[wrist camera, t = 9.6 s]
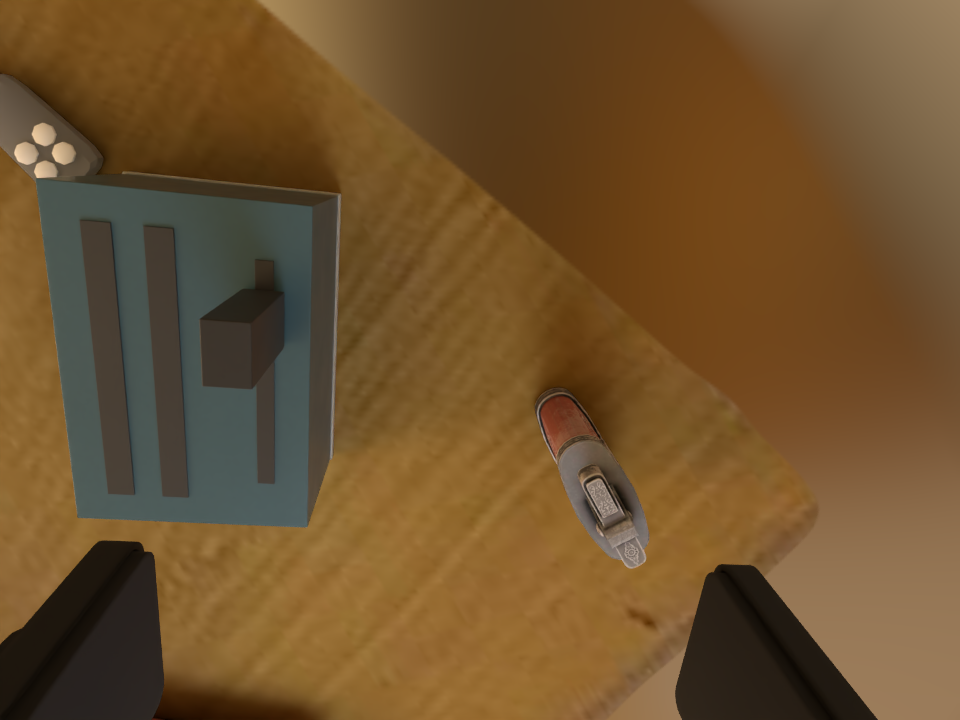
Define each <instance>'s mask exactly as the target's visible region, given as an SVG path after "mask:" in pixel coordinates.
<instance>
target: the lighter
mask: <svg viewBox="0 0 960 720" xmlns="http://www.w3.org/2000/svg"><path fill="white" fill-rule="evenodd" d="M535 413H536V416H537V419H538V423H539V426H540V429H541V432H542V435H543V437H544V439H545V442H546V444H547V446H548V448H549V450H550V452H551V455H552V457H553V459H554V460H555V462H556V463H557V465H558V469H559V472H560V475H561V479H562V482H563V485H564V488H565V490H566V493H567V495H568V497H569V499H570V502H571V504H572V506H573V508H574V510H575V512H576V515H577V517H578V518H579V520H580V521H581V523H582V524H583V526H584V527H585V529H586V530H587V531H588V533H589V534H590V536H591V537H592V538H593V540H594V541H595V542H596V543H597V544H598V545H599V546H600V547H601V548H602V549H603V551H604V552H605V553H606V554H607V555H608V556H610V557H611V558H614V559H619V560H621V559H622V560H623V562H624V564H625V565H626V567H628V568H635V567H637V566H639V565H641V564H643V563H644V562H645V561H646V555H645V552H644V551H643V550H644V548H645V547H646V546H647V544H648V541H649V531H648V527H647V523H646V519H645V515H644V511H643V509H642V506H641V504H640V502H639V499H638V497H637V494H636V492H635V489H634V487H633V486H632V484H631V483H630V481H629V479H628V478H627V476H626V475H625V473H624V471H623V470H622V468H621V467H620V465H619V463H618V462H617V460H616V459H615V457H614V456H613V454H612V452H611V451H610V449H609V448H608V446H607V444H606V443H605V441H604V440H603V439H602V437H601V435H600V433H599V431H598V430H597V428H596V426H595V425H594V423H593V422H592V420H591V418H590V417H589V415H588V414H587V412H586V410H585V409H584V408H583V407H582V405H581V404H580V403H579V402H578V401H577V399H576V398H575V397H574V396H573V395H572V393H571V392H569V391H568V390H567V389H563V388H553V389H550V390H547V391H546V392H544V393H543V394H541V395H540V397H539V398H538V399H537V401H536V404H535Z"/></svg>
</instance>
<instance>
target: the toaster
mask: <svg viewBox="0 0 960 720" xmlns="http://www.w3.org/2000/svg"><path fill="white" fill-rule="evenodd" d="M35 180H36V188H37V196H38V204H39V212H40V220H41V228H42V236H43V244H44V252H45V260H46V268H47V276H48V284H49V292H50V300H51V308H52V316H53V324H54V332H55V340H56V348H57V356H58V364H59V372H60V380H61V388H62V396H63V404H64V412H65V420H66V428H67V436H68V444H69V452H70V460H71V468H72V476H73V484H74V493H75V501H76V509H77V517H78V518H95V519H118V520H142V521H166V522H190V523H213V524H237V525H261V526H284V527H308V524H309V521H310V517H311V514H312V511H313V508H314V505H315V502H316V499H317V496H318V493H319V490H320V487H321V484H322V481H323V478H324V475H325V472H326V469H327V466H328V463H329V460H330V459H332V457H333V446H334V414H335V382H336V350H337V318H338V286H339V254H340V222H341V193H333V192H323V191H314V190H304V189H294V188H285V187H275V186H265V185H256V184H246V183H237V182H227V181H217V180H208V179H198V178H188V177H179V176H169V175H159V174H150V173H140V172H131V171H123V172H122V174H107V175H87V176H67V177H47V178H36V179H35ZM241 289H255V290H267V291H279V292H284V293H285V295H284V349H283V350H282V351H281V352H280V354H279V355H278V356H277V358H276V359H275V360H274V362H273V363H272V364H271V366H270V367H269V368H268V369H267V371H266V372H265V373H264V375H263V376H262V377H261V379H260V380H259V381H258V382H257V384H256V385H255V386H254V388H253V389H252V390H248V389H233V388H218V387H203V386H202V373H201V350H200V328H199V319H200V318H201V317H203V316H204V315H206V314H207V313H208V312H210V311H211V310H213V309H214V308H216V307H217V306H218V305H220V304H221V303H223V302H224V301H226V300H227V299H228V298H230V297H231V296H233V295H234V294H236V293H237V292H239V291H240V290H241Z"/></svg>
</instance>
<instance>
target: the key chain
mask: <svg viewBox="0 0 960 720" xmlns="http://www.w3.org/2000/svg"><path fill="white" fill-rule="evenodd" d="M0 146H1V147H2V149H3V150H4V151H5V152H6V153H7V154H8V155H9V156H10V157H11V158H12V159H13V160H14V161H15V162H16V163H17V164H18V165H19V166H20V167H21V168H22V169H23V170H24V171H25V172H26V173H27V174H28V175H29V176H30V177H31V178H32V179H33V180H34V181H35V182H36V180H35V179H36V178H47V177H67V176H87V175H95V174H96V173H97V172H98V171H99V170H100V168H101V167H102V163H103V159H104V158H103V156H102V155H101V154H100V152H99V151H98V150H97V148H96V147H95V146H94V145H93V144H92V143H91V142H90V141H89V140H88V139H86V138H85V137H84V136H83V135H82V134H81V133H80V132H78V131H77V130H76V129H75V128H74V127H73V126H72V125H71V124H69V123H68V122H67V121H66V120H65V119H64V118H63V117H61V116H60V115H59V114H58V113H57V112H56V111H55V110H53V109H52V108H51V107H50V106H49V105H48V104H46V103H45V102H44V101H43V100H42V99H41V98H40V97H38V96H37V95H36V94H35V93H34V92H33V91H31V90H30V89H29V88H28V87H27V86H26V85H24V84H23V83H21V82H20V81H18V80H17V79H15V78H14V77H12V76H11V75H6V74H0Z"/></svg>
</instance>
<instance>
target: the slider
mask: <svg viewBox="0 0 960 720" xmlns="http://www.w3.org/2000/svg"><path fill="white" fill-rule="evenodd" d="M284 295H285V293H284V292H279V291H267V290H255V289H241V290H240V291H239V292H237V293H236V294H234V295H233V296H231V297H230V298H228V299H227V300H226V301H224V302H223V303H221V304H220V305H218V306H217V307H216V308H214V309H213V310H211V311H210V312H208V313H207V314H206V315H204V316H203V317H201V318H200V319H199V328H200V350H201V373H202V386H203V387H218V388H233V389H248V390H252V389H253V388H254V386H255V385H256V384H257V382H258V381H259V380H260V379H261V377H262V376H263V375H264V373H265V372H266V371H267V369H268V368H269V367H270V366H271V364H272V363H273V362H274V360H275V359H276V358H277V356H278V355H279V354H280V352H281V351H282V350H283V349H284Z"/></svg>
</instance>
